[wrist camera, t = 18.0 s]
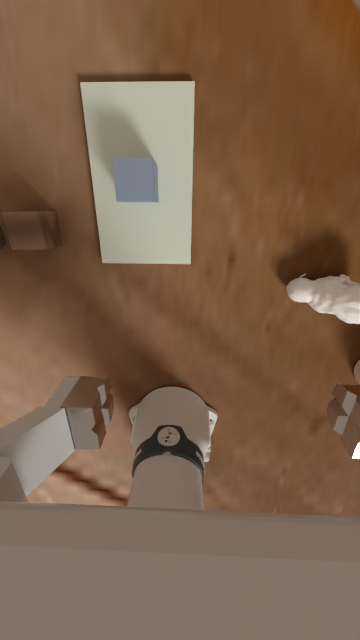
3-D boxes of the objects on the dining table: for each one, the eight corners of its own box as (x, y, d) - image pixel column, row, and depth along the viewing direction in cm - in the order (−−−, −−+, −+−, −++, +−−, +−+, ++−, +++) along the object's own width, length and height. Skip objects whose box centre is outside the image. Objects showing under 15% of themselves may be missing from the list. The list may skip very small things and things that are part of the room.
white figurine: (376, 335, 35) (290, 319, 35) (347, 312, 42) (276, 299, 43) (400, 292, 32) (305, 276, 33) (364, 276, 40) (288, 263, 41)
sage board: (190, 262, 40) (190, 264, 39) (104, 261, 41) (102, 262, 40) (194, 84, 31) (194, 81, 30) (83, 85, 31) (79, 82, 30)
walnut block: (62, 245, 40) (46, 250, 35) (31, 245, 40) (11, 250, 35) (55, 210, 38) (37, 211, 33) (23, 211, 38) (1, 211, 33)
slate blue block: (158, 202, 36) (153, 201, 30) (127, 202, 36) (116, 201, 30) (157, 165, 34) (151, 158, 28) (124, 165, 34) (112, 158, 29)
